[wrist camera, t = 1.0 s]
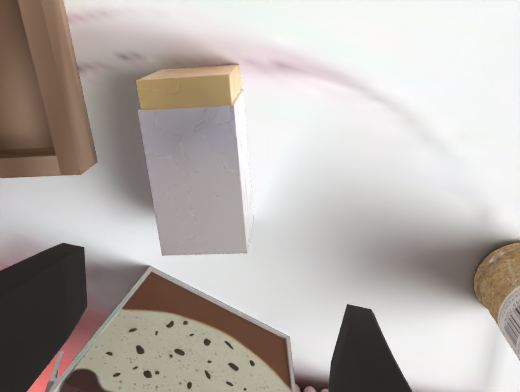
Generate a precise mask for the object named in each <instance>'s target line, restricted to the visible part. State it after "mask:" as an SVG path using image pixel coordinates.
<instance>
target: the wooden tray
mask: <svg viewBox="0 0 520 392" xmlns="http://www.w3.org/2000/svg"><path fill="white" fill-rule="evenodd" d="M95 163H97V158H96V153H95V148H94V143H93V139H92V134H91V129H90V125H89V120H88V115H87V110H86V106H85V101H84V96H83V92H82V87H81V82H80V78H79V73H78V68H77V63H76V59H75V54H74V49H73V45H72V40H71V35H70V30H69V26H68V21H67V16H66V12H65V7H64V2H63V0H0V178H14V177H37V176H60V175H81V174H82V173H84V172H85V171H86V170H88V169H89V168H90V167H91V166H93V165H94V164H95Z"/></svg>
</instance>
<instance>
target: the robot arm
mask: <svg viewBox="0 0 520 392" xmlns="http://www.w3.org/2000/svg"><path fill="white" fill-rule="evenodd" d="M86 307H87V293H86V274H85V255H84V247H80V246H75V245H71V244H66V243H62V244H59V245H57V246H54V247H52V248H49V249H47V250H45V251H43V252H40V253H38V254H36V255H34V256H32V257H29V258H27V259H25V260H23V261H21V262H19V263H16V264H14V265H12V266H10V267H8V268H5V269H3V270H1V271H0V392H27V391H28V389H29V388H30V387H31V385H32V384H33V383H34V382H35V380H36V379H37V378H38V377H39V375H40V374H41V373H42V371H43V370H44V369H45V368H46V366H47V365H48V364H49V363H50V361H51V360H52V359H53V357H54V356H55V355H56V354H57V352H58V351H59V350H60V348H61V347H62V346H63V344H64V343H65V342H66V340H67V339H68V338H69V336H70V335H71V333H72V331H73V330H74V328H75V326H76V325H77V323H78V321H79V320H80V318H81V316H82V314H83V312H84V311H85V309H86ZM328 392H412V390H411V388H410V387H409V385H408V383H407V381H406V379H405V378H404V376H403V374H402V372H401V370H400V368H399V366H398V364H397V363H396V361H395V359H394V357H393V355H392V353H391V351H390V349H389V347H388V344H387V342H386V340H385V338H384V336H383V334H382V331H381V329H380V327H379V325H378V322H377V320H376V318H375V315H374V313H373V312H372V310H371V309H367V308H362V307H358V306H353V305H349V304H347V307H346V310H345V314H344V317H343V321H342V324H341V328H340V332H339V335H338V339H337V342H336V346H335V350H334V353H333V357H332V360H331V368H330V379H329V390H328Z"/></svg>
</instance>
